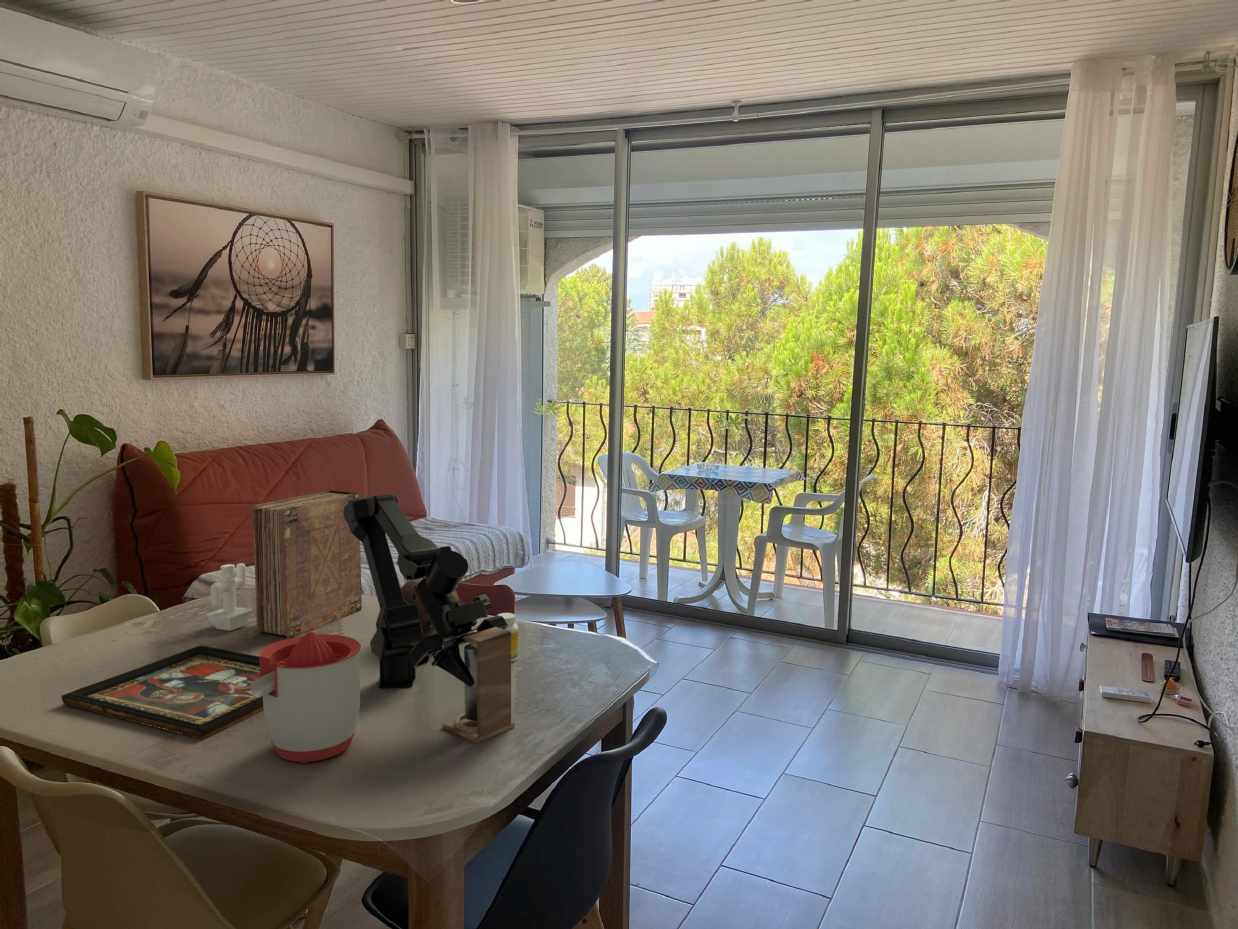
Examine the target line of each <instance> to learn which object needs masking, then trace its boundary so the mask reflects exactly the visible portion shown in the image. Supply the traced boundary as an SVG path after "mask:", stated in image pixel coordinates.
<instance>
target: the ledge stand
mask: <svg viewBox="0 0 1238 929" xmlns="http://www.w3.org/2000/svg"><path fill="white" fill-rule="evenodd" d="M465 641H466V642H468V644H470V643H472V644H475V645H477V721H472V720H468V719H466V718H465V712H464V713H461V714H459V715H457V716H456V717H455V718H452V719H450V720H447V721H445V722H442V724H441V726H442V729H444V730H447V731H449V732H451V733H454V734H455V735H458V736H460V737H463V738H465V739H466V740H469V741H471V742H473V743H475V744H479V743H481V742H484V741H485V740H488V739H490V738H493V737H495V736H497V735H499V734H501V733H504V732H507V731H508V730H510V729H513V728H515V726H516V725H515V724H516V723H515V722H513V721H512V662H511V631H507V630H504V629H501V628H498V627H493V628H490V629H487V630H484V631H481V632H477V633H474V634H471V635H468V636H465Z"/></svg>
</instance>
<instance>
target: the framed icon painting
mask: <svg viewBox="0 0 1238 929" xmlns="http://www.w3.org/2000/svg"><path fill="white" fill-rule="evenodd" d="M259 656H260V655H259ZM259 656H258V655H253V654H249V653H244V652H238V651H232V650H228V649H224V648H216V647H214V646H213V647H212V646H206V645H198V646H195V647H192V648H190V649H187V650H184V651H182V652H179V653H176V654H173V655H170V656H167V657H164V658H162V659H160V660H157V661H154V662H151V663H149V664H145V665H144V666H140V667H137V668H135V669H132V670H130V671H126V672H122V673H121V674H118V675H115V676H112V677H109V678H107V679H104V680H101V681H97V682H96V683H91V684H89V685H86V686H83V687H80V688H78V689H75V690H73V691H70V692H67V693H64V694H62V695H61V701H62V703H63V704H64V705H66V706H69V707H72V708H76V707H77V708H78V709H80V708H82V709H81V710H84V709H86V710H85V711H88V710H90V711H89V712H91V711H95V712H98V713H97V714H99V713H102V714H101V715H103V714H106V715H105V716H107V715H110V716H109V717H111V716H114V717H113V718H115V717H116V719H118V718H120V719H119V720H122V719H125V720H124V721H127V720H131V721H130V722H132V721H136V722H135V723H137V722H140V723H144V724H147V725H152V726H156V727H160V728H165V729H168V730H171V731H175V732H179V733H182V734H185V735H184V736H186V735H189V736H188V737H191V736H193V737H192V738H195V737H196V739H199V738H201V739H200V740H204V738H205V739H207V738H210V737H211V735H212V736H213V735H215V733H216V734H217V732H218V733H220V732H222V731H224V730H226V729H228V728H231V727H232V725H233V726H234V725H237V724H239V723H241V722H243V721H245V720H246V719H249V718H251V717H253V716H255V715H257V714H260V713H261V712H264V707H263V696H261V697H258V698H257V697H254V696H253V695H252V693H251V686H252V683H253V682H254V681H255V680H257V679H258V678H260V660H259ZM95 712H94V713H95ZM140 723H139V724H140ZM147 725H146V726H147ZM230 726H231V727H230ZM168 730H167V731H168ZM221 730H222V731H221ZM171 731H170V732H171ZM219 731H220V732H219ZM175 732H174V733H175ZM182 734H181V735H182Z"/></svg>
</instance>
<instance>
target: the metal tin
mask: <svg viewBox="0 0 1238 929" xmlns="http://www.w3.org/2000/svg"><path fill="white" fill-rule="evenodd" d="M463 649H464V650H463V658H464V659H463V662H464V664H465V665H466V667H467V669H468V671H469V673H470V675H471V677H472V679H473V682H474V684H473V685H472V686H471V687H469V686H468V685H466V684H465V683H463V684H464V688H463V689H464V696H463V697H464V713H465V718H466V719H468V720H472V721H477V645H475V644H472V643H471V644H470V643H467V644H466V645H464V647H463Z"/></svg>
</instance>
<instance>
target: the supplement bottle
mask: <svg viewBox="0 0 1238 929" xmlns="http://www.w3.org/2000/svg"><path fill="white" fill-rule="evenodd" d="M497 615H499V616H502V617H503V618H504V619H505V621H506V623H507V624H508V627H507V628H506V629H505V630H507V631H511V663H512V662H515V661H517V660H518V658H519V626H518V625H517V623H516V614H514V613H511V612H502V613H498V614H497Z"/></svg>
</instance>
